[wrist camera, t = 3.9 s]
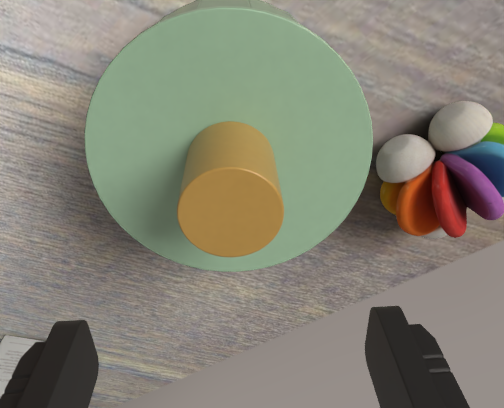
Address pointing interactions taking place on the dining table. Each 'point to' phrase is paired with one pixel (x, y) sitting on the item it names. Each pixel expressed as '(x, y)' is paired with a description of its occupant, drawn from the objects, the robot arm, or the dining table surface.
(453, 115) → the rainbow disc rolling toy
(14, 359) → the small box
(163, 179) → the lid
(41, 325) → the dining table surface
